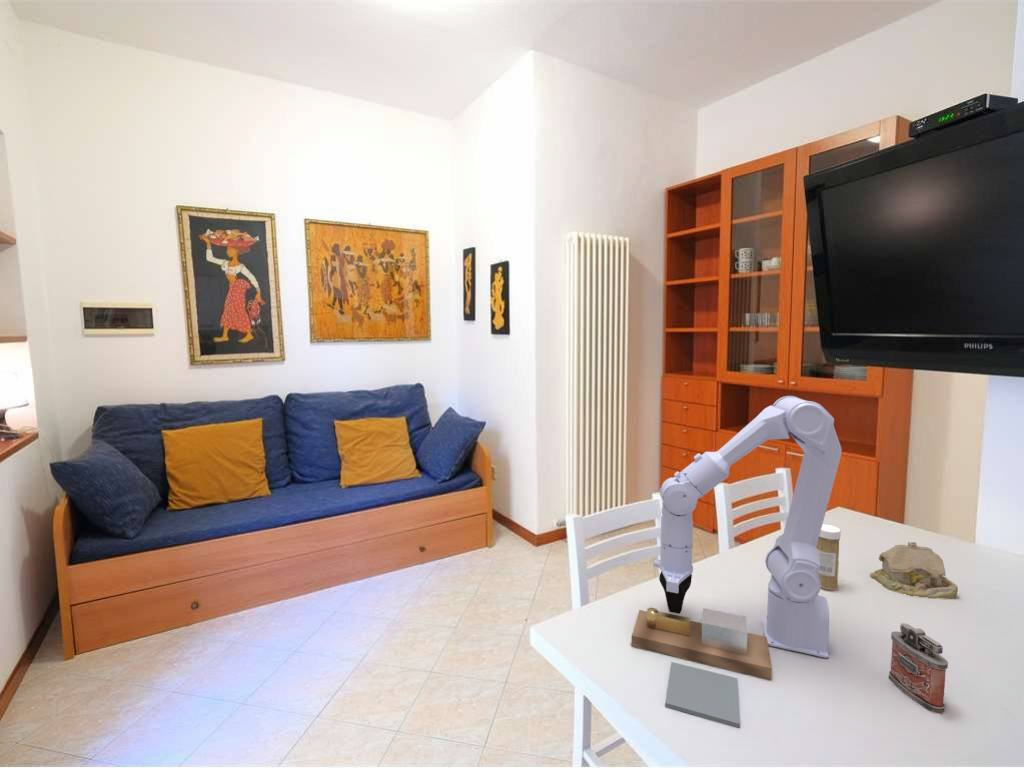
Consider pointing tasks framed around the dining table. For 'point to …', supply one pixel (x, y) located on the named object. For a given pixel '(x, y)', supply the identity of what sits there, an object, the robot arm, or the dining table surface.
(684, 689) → the mat
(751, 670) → the brown wooden board
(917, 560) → the ceramic model
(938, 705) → the lighter
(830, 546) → the sprinkles bottle
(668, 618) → the lever
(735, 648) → the light grey block
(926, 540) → the dining table surface
